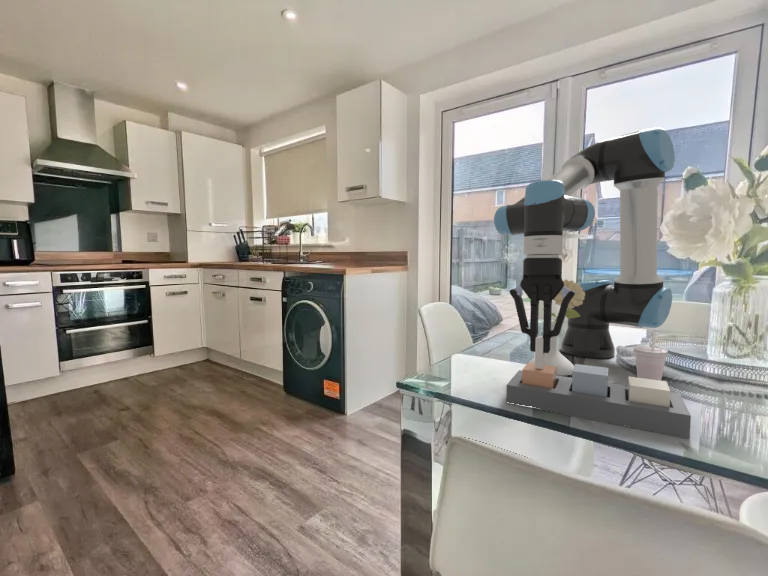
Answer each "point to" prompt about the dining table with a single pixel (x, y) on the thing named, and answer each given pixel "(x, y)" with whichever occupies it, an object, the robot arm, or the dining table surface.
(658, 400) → the key cream
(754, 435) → the dining table surface
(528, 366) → the key terracotta
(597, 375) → the key slate
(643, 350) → the smoothie
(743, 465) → the dining table surface
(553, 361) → the flower in vase
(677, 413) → the console
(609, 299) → the robot arm
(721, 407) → the dining table surface
